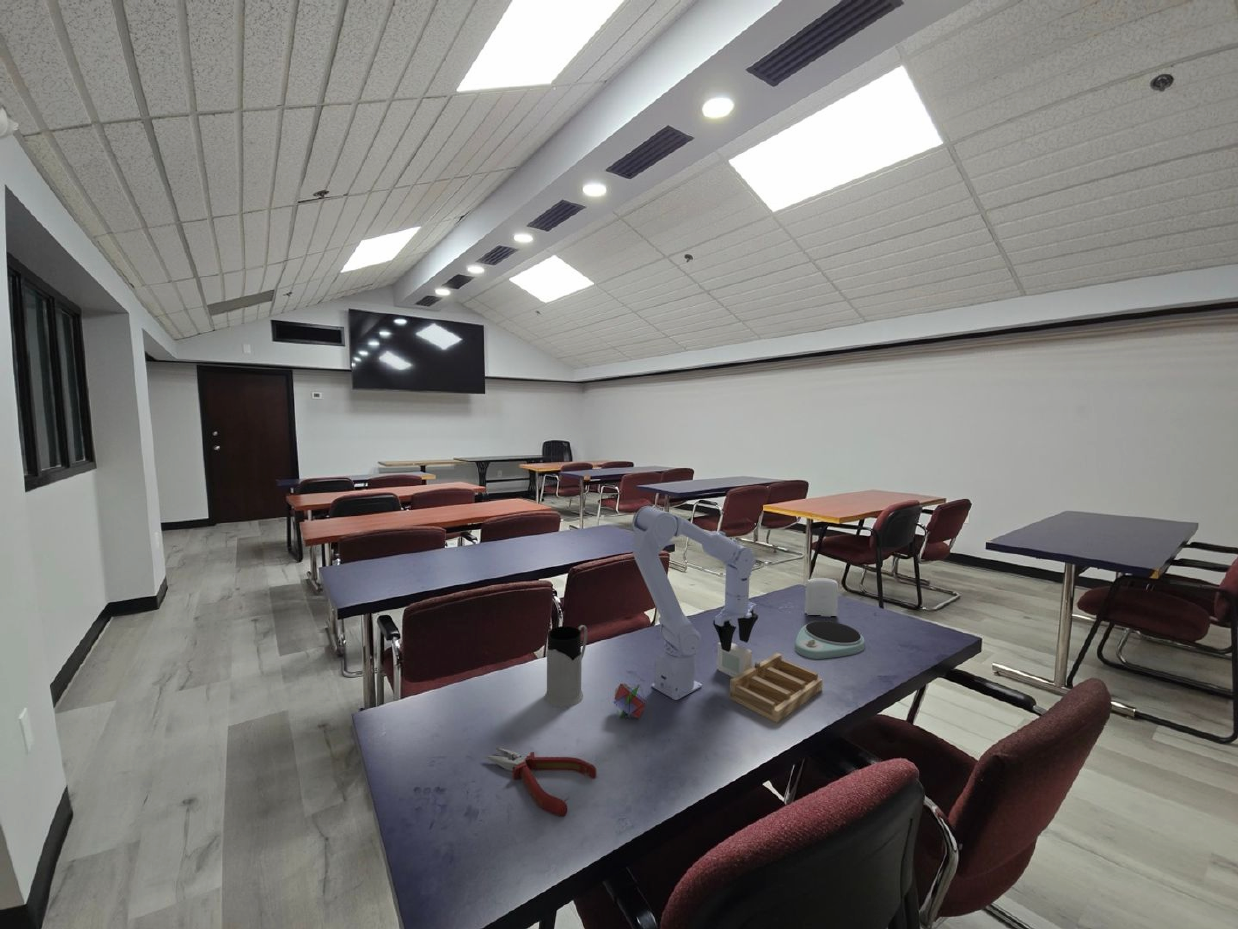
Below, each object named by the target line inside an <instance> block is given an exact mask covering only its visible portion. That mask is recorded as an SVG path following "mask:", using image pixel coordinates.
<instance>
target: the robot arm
mask: <svg viewBox="0 0 1238 929" xmlns="http://www.w3.org/2000/svg"><path fill="white" fill-rule="evenodd" d="M631 525H632V529H633V539H632V540H633V541H632V542H633V544H632V555H633V558H634V560H635V563H636V564H637V568H638V569H639V571H640V573H641V576H642V578H643V580H644V583H645V585H646V587H647V589H648V591H649V594H650V596H651V598H652V600H653V602H654V605H655V608H656V609H657V611H658V614H659V617H658V618H657V619H658V623H659V627H660V628H659V632H660V636H661V637H662V640H664V650H663V652H662V654H660V656H658V657H657V658H656V659H655V661H654V680H653V683H652V684H651V687H652V688H654V689H655V690H657V691H659V692H660V693H662V694H664V695H666V696H668V697H669V698H671V699H672V700H674V701H678V700H680V699H681V698H684V697H685V696H688V695H689V694H690V693H693V692H694V691H696V690H698V689H700V688H702V687H703V684H702V683H700V682H699V681H696V680H695V674H696V673H695V671H696V670H695V669H696V668H695V667H696V655H697V652H699V650H700V649H701V646H702V642H703V641H702V640H703V639H702V635H701V633H700V632H699V631H698V630H696V629H695V628H694V626H693V624H692V623H691V622H692V621H690V619H689V618H688V617H687V616H686V615H685V614H684V612H683V610H682V607H681V605H680V603H679V600H678V598H677V595H676V593H675V591H674V588H673V586H672V583H671V582H670V580H669V578H668V575H667V572H666V571H665V568H664V565H663V563H662V560H661V558H660V554H661V553H662V551H663V550H664V549H665V547H666V546H667V545H668V544H669V543H670V542H671V540H672V539H673V538H674V537H676V538H678V537H680V536H681V535H683V536H684V537H687V538H689V539H691V540H693V541H694V542H696V543H699V544H700V545H701V549H702V550H703V552H704V553H705V554H707V555H709V556H711V557H713V558H715V559H716V560H719V561H721V562H722V563H723V564H724V565H725V585H724V587H725V588H724V608H723V609H721V611H720V612H719V613H718V614H716V615H715V616H714V619H713V622H712V625H713V627H714V629H715V631H716V633H717V635H718V639H719V643H721V648H722V650H725V651H727V652H729V651H730V650H731V644H732V643H733V638H734V635H735V632H736V629H737V626H734V625H732V624H731V621H732V620H737V623H738V624H737V625H738V638H739V641H741V642H744V643H748V642H749V640H750V637H751V633H752V631H753V627H754V626H755V624H756V622H757V621H758V619H759V615H758V614H757V613H754V612H757V603H754V602H752V601H749V600H750V599H749V597H750V577H751V575H752V570H753V569H754V566H755V563H756V561H757V560H756V558H755V556H754V552H753V551H752V549H750V548H749V547H745V546H743V545H740V541H738V540H736V539H733V540H732V539H731V538H729V537H727V536H726V532H723V531H722V530H718V531H717V530H712V531H709V532H708V531H706V530H704V529H702V528H701V527H699V526H698V525H696V524H694V523H692V522H691V521H690V520H688V519H686V518H684V517H681V516H679V515H677V514H674V513H671V512H668V511H665V510H661V509H658V508H656V507H654V506H652V505H646V506H645V505H644V506H642V507H641V508H639V510H638V511H637V512H636V514H635V517H634V518H633V520H632V522H631Z"/></svg>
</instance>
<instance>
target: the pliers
mask: <svg viewBox="0 0 1238 929" xmlns="http://www.w3.org/2000/svg"><path fill="white" fill-rule="evenodd" d="M495 749H496V751H498V752H499V753H500V754H501V755H502V756H500V755H485V758H486V759H488V760H489V761H491V762H493V763H495V764H496V765H498V766H499V767H501V768H503V769H504V770H507V771H510V772H512V779H513V781H514V782H515V781H518V780H521V781H522V783H523V784H524V786H525V788H526V789H527V791H528V792H529V794H530V796H531V798H532V799H533V801H534V802H535V803H536V804H537V806H539V808H540V809H542V810H543V811H545V812H549V813H550V814H553V815H554V816H558V817H564V816H566V815H567V814H568V811H569V810H568V804H567V802H565V801H564V800H562V799H561V798H558V797H556V796H553V795H551V794H549V793H548V792H546V791H545V790H544V789H543V788H542V786H541V785H540V784H539V782H538V780H537V779H536V777H535V776H534V774H533V773H532V771H572V772H577V773H580V774H582V775H584V776H586V777H587V778H591V779H593V780H594V779H596V776H597V768H596V766H595V765H594V764H592V763H589V762H587V761H585V760H584V759H581V758H578V757H574V756H573V757H571V756H535V751H530V753H529V755H526V757H523V756H522V754H520V753H518V752H515V751H513V750H508V749H505V748H501V747H497V746H496V747H495Z"/></svg>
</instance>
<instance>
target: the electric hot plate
mask: <svg viewBox="0 0 1238 929" xmlns="http://www.w3.org/2000/svg"><path fill="white" fill-rule="evenodd" d="M793 648H794V651H795V653H797V654H798V655H800V656H803V657H805V658H809V659H816V660H817V659H829V658H838V657H845V656H846V657H847V656H849V655H855V654H858V653H861V652H862V651H864V650H865V649H866V641H865V638H864V636H863V635H862V634H861V633H860V632H859V631H858V630H857V629H855V628H853V627H851V626H848V625H847V624H843V623H840V622H836V621H835V622H834V621H828V620H815V621H810V622H809V623H806V624H805V625H803V626H802V627H801V629H800V630H799V632H798V633H797V636H796V638H795V642H794V646H793Z"/></svg>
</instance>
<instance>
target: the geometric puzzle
mask: <svg viewBox="0 0 1238 929" xmlns="http://www.w3.org/2000/svg"><path fill="white" fill-rule="evenodd" d="M631 685H635V684H631ZM632 688H634V689H632ZM638 689H640V691H641V693H642V694H643V690H642V689H643V688H642V687H641V684H638V685H635V686H632V687H629V685H628V684H627V683H620V684H619V685H618V686H617V687H616V688H615V690H614V691H615V692H614V698H613V702H612V703H613V704H614V705H615V706H614V707H615V709H617V708H619V709H621V710H622V711H621V713H620V716H619V711H616V712H617V715H618V717H619V719H623V718H625V717H626V715H625V714H627V719H629V717H632V718H633V719H636V720H640V718H641V715H642V713H643V710H644V708H645V706H646V699H645V696H641V695H640V694H638V693H637V692H638ZM632 715H633V716H632Z"/></svg>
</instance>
